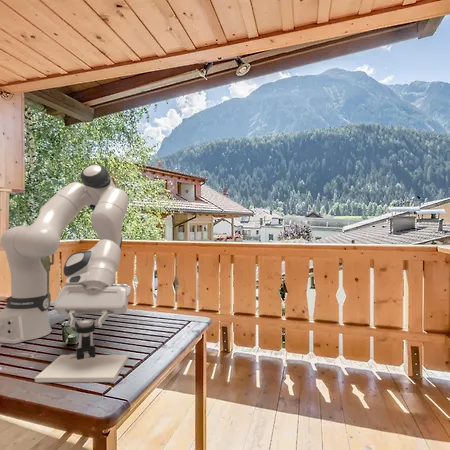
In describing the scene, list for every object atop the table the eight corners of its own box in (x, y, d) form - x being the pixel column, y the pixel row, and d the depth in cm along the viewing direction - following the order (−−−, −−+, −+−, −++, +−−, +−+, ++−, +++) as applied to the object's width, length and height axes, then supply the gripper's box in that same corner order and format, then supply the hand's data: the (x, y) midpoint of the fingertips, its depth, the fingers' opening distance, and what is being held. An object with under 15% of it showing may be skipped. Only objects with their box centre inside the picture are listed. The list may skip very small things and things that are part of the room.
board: (34, 382, 83) (34, 377, 83) (60, 358, 97) (60, 355, 97) (113, 382, 84) (113, 377, 84) (128, 358, 98) (128, 354, 98)
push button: (70, 364, 86) (70, 326, 86) (69, 356, 91) (69, 320, 90) (97, 358, 89) (97, 322, 89) (94, 351, 94) (94, 317, 94)
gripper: (134, 290, 102) (125, 331, 92) (67, 289, 101) (52, 331, 92) (130, 278, 97) (120, 321, 88) (61, 277, 97) (43, 320, 87)
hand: (85, 326), depth 90 cm, fingers closed on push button, 5 cm apart
